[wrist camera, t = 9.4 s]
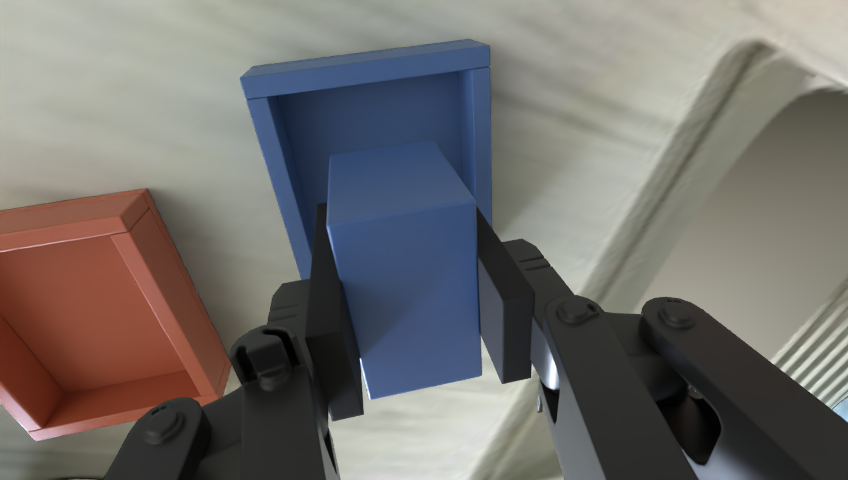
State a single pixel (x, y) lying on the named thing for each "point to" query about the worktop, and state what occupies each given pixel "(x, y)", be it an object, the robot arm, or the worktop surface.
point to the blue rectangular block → (406, 265)
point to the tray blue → (369, 120)
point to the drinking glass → (842, 409)
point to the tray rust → (99, 316)
